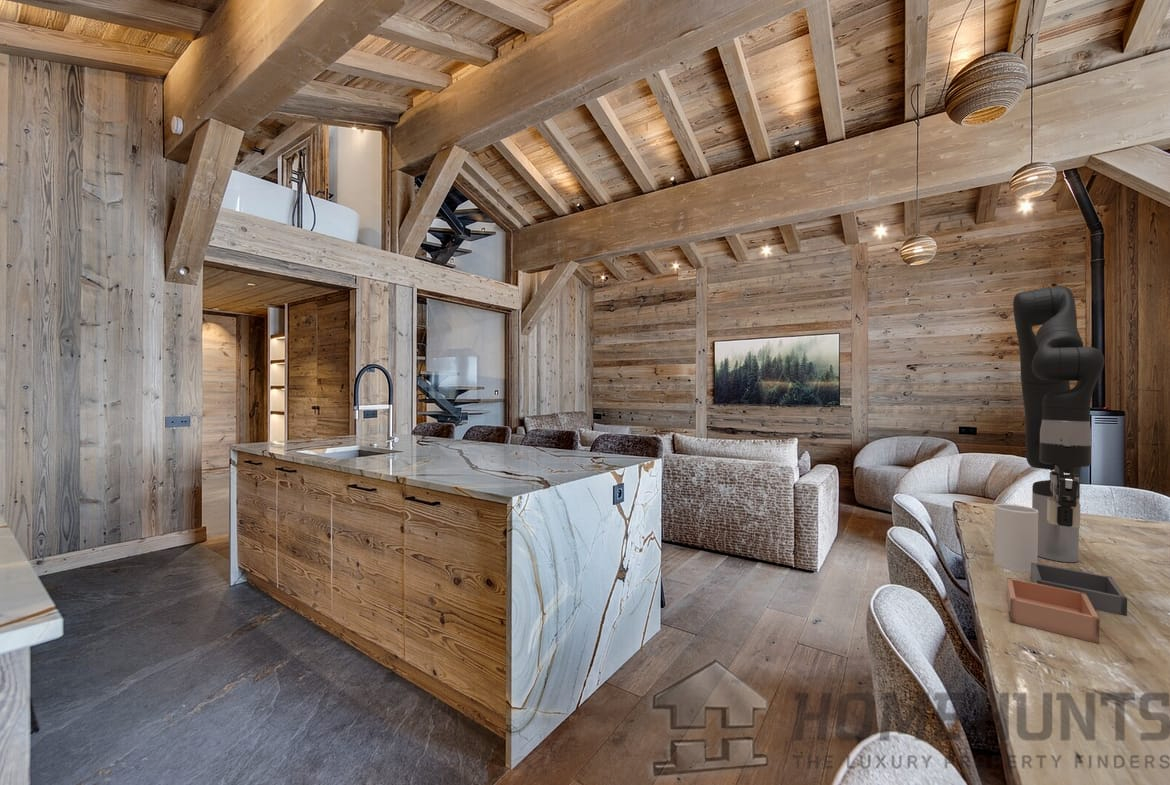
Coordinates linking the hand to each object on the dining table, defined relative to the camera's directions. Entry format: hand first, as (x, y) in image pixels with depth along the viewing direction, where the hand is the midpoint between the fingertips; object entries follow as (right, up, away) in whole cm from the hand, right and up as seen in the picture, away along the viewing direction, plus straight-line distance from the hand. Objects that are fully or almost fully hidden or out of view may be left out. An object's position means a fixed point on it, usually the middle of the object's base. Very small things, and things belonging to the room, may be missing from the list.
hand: (1062, 523), depth 98 cm
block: (0, 0, 0) cm, 0 cm away
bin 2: (+8, -18, +5) cm, 21 cm away
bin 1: (-7, -18, -3) cm, 20 cm away
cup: (+10, -18, +22) cm, 30 cm away
